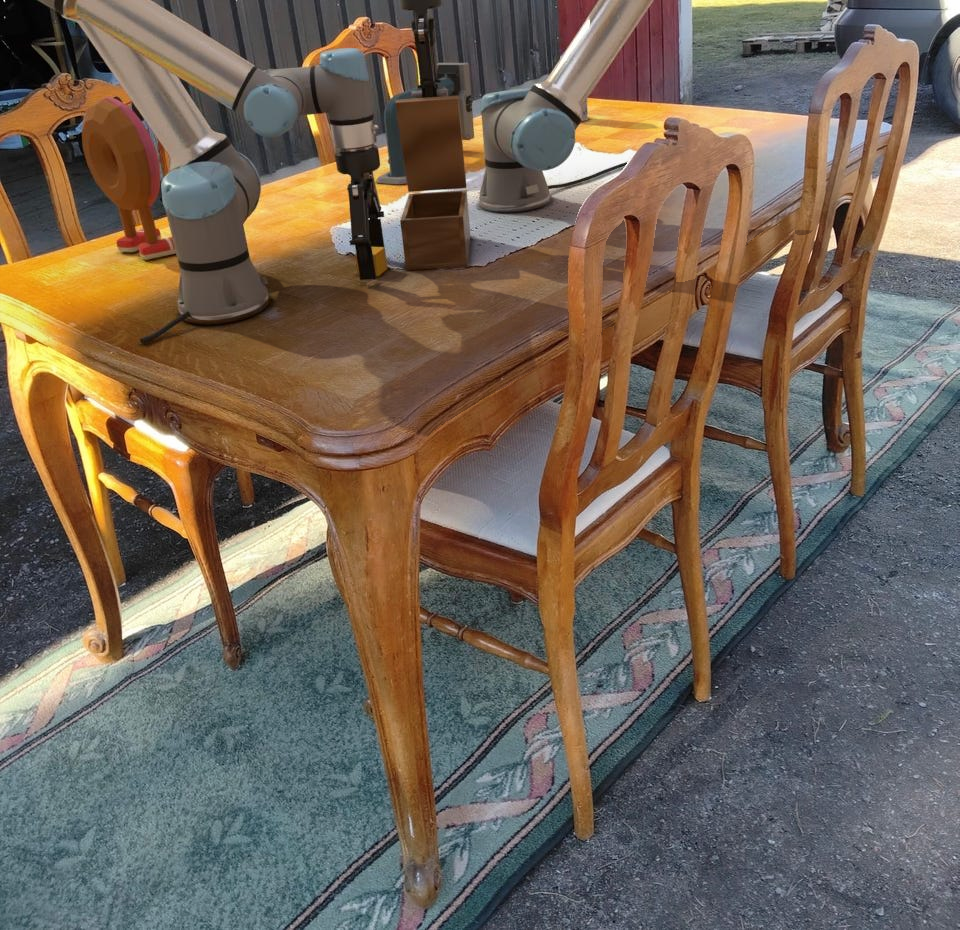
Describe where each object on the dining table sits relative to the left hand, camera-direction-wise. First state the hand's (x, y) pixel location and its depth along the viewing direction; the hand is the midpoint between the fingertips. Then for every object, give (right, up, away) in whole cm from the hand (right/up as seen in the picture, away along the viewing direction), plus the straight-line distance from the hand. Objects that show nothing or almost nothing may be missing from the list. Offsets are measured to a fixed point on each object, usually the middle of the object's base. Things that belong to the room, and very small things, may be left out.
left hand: (373, 266), depth 176 cm
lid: (+11, +23, +2) cm, 25 cm away
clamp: (+6, +39, +67) cm, 78 cm away
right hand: (+11, +28, +6) cm, 31 cm away
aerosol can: (+47, +63, +101) cm, 128 cm away
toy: (-48, +8, +22) cm, 53 cm away
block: (0, -1, +1) cm, 1 cm away
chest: (+12, +4, +7) cm, 14 cm away
